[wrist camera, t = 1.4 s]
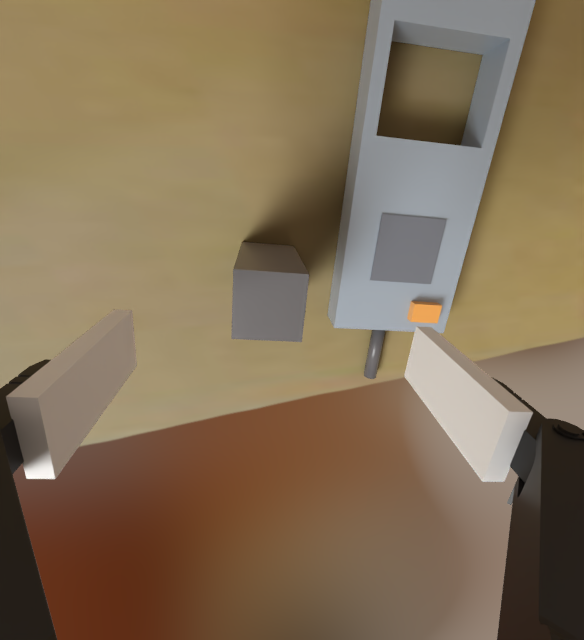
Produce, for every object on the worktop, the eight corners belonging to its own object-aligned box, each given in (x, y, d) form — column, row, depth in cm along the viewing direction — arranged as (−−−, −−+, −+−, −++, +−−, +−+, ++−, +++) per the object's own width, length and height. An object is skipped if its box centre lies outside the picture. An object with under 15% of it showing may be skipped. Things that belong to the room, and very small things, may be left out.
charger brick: (240, 294, 30) (231, 343, 21) (242, 241, 28) (233, 269, 19) (288, 297, 31) (301, 345, 21) (293, 245, 29) (309, 274, 20)
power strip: (320, 370, 34) (327, 392, 30) (372, -13, 23) (392, -49, 19) (414, 374, 35) (431, 395, 31) (507, 10, 24) (549, -20, 21)
